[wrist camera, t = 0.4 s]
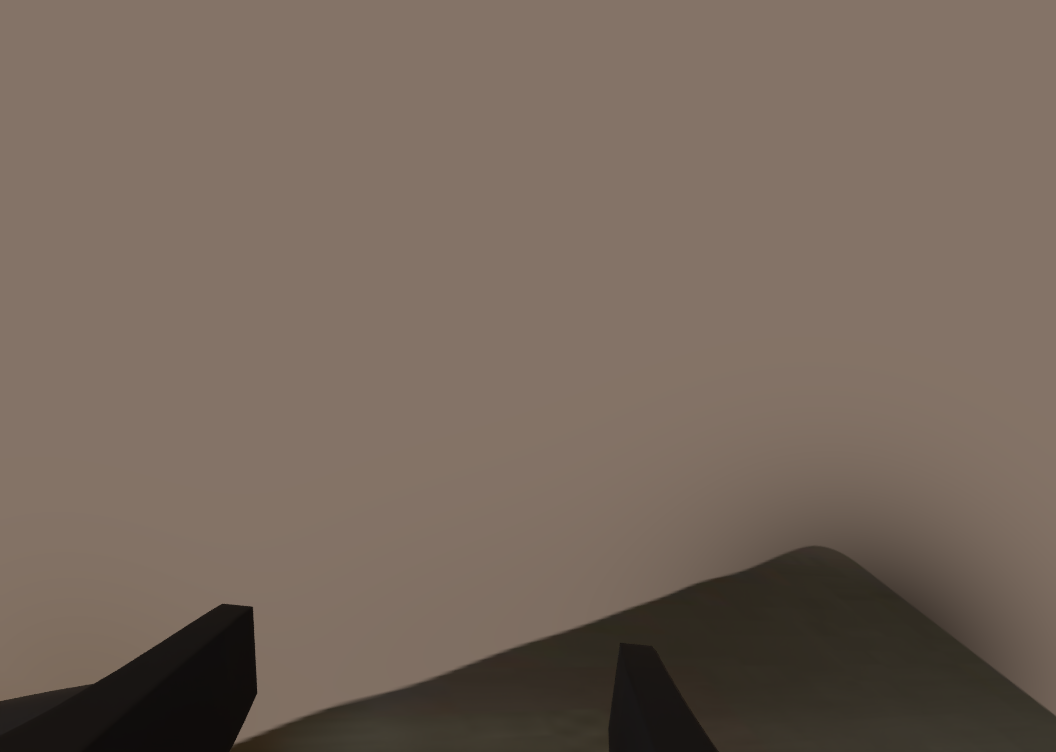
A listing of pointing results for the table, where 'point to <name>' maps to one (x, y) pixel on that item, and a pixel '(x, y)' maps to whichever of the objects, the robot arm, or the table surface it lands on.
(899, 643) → the table surface
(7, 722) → the battery charger
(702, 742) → the robot arm
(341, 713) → the table surface
